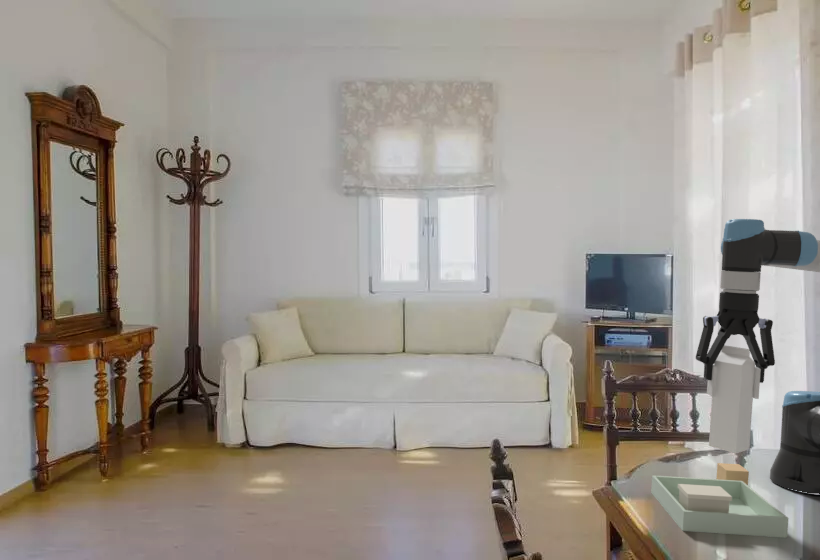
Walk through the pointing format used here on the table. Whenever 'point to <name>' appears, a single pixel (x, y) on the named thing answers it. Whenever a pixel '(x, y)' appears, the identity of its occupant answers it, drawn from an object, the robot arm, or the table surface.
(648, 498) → the table surface
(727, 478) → the box
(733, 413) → the milk
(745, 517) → the tray
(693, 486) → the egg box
